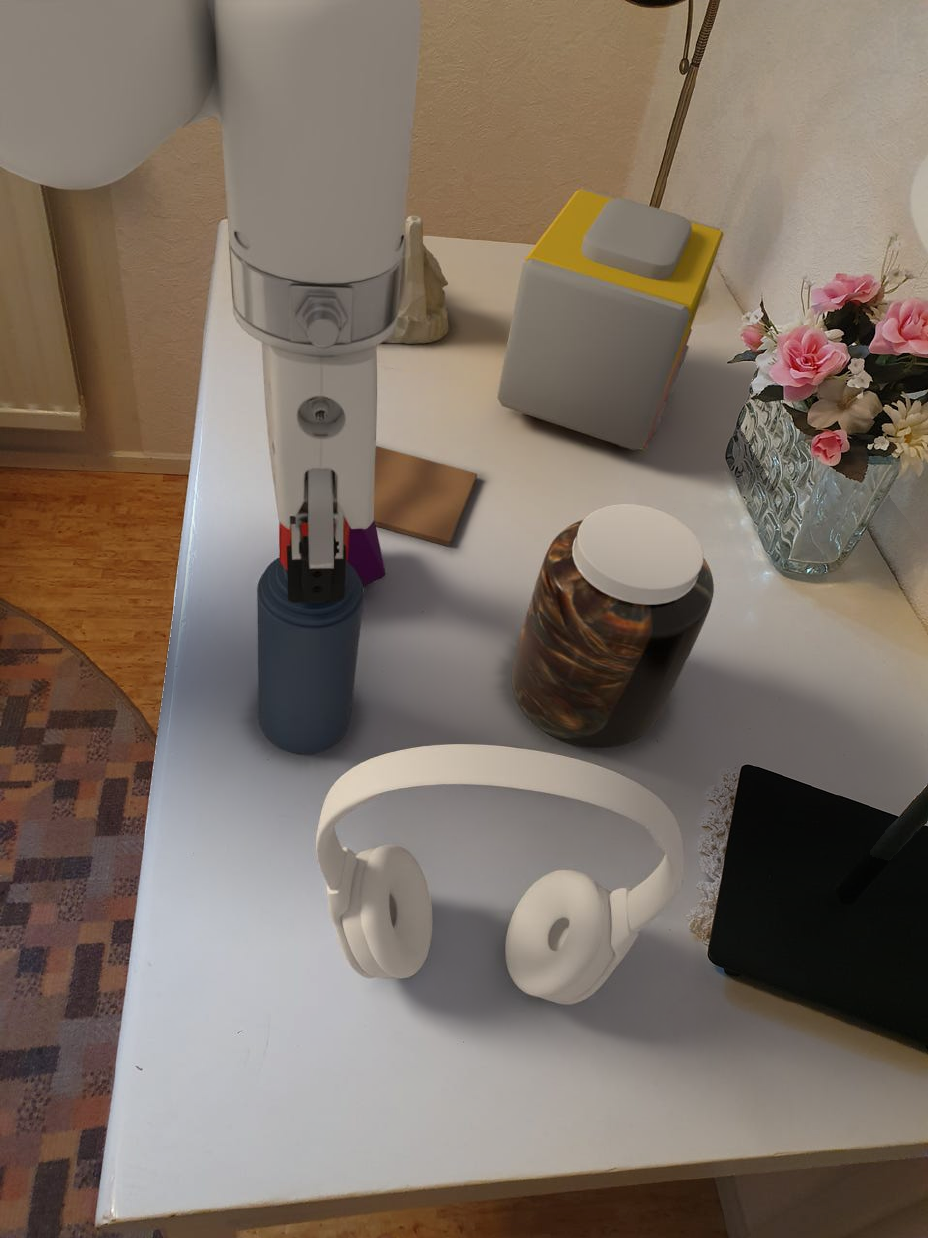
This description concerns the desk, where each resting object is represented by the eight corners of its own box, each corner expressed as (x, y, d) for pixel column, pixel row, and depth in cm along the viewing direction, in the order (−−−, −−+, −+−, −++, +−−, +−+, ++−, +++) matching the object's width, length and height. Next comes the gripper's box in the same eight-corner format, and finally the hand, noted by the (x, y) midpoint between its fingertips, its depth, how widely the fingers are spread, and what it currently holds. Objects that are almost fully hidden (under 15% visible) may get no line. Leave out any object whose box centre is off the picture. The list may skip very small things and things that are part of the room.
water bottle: (243, 738, 64) (237, 542, 50) (279, 670, 68) (282, 473, 54) (332, 765, 63) (349, 575, 50) (362, 695, 68) (385, 503, 54)
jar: (629, 777, 66) (696, 639, 55) (485, 703, 69) (522, 558, 58) (681, 671, 74) (750, 531, 63) (550, 608, 76) (593, 463, 65)
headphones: (324, 874, 58) (336, 674, 43) (612, 915, 59) (720, 732, 44) (302, 989, 53) (306, 807, 38) (616, 1031, 54) (738, 869, 39)
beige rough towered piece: (450, 349, 100) (463, 207, 90) (296, 339, 99) (292, 193, 88) (446, 286, 111) (457, 154, 101) (308, 276, 110) (305, 140, 99)
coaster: (338, 515, 80) (338, 510, 80) (374, 450, 87) (374, 445, 87) (449, 546, 80) (449, 541, 79) (476, 478, 86) (477, 473, 86)
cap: (349, 580, 53) (352, 538, 51) (280, 580, 52) (280, 537, 50) (344, 534, 56) (347, 492, 53) (278, 533, 55) (278, 490, 53)
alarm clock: (640, 473, 90) (702, 299, 77) (489, 422, 93) (523, 244, 79) (678, 376, 103) (737, 213, 90) (545, 333, 106) (583, 168, 92)
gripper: (422, 390, 37) (391, 678, 50) (382, 204, 48) (365, 482, 61) (228, 386, 35) (249, 684, 49) (233, 195, 46) (249, 482, 60)
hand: (314, 569), depth 55 cm, fingers closed on cap, 3 cm apart
